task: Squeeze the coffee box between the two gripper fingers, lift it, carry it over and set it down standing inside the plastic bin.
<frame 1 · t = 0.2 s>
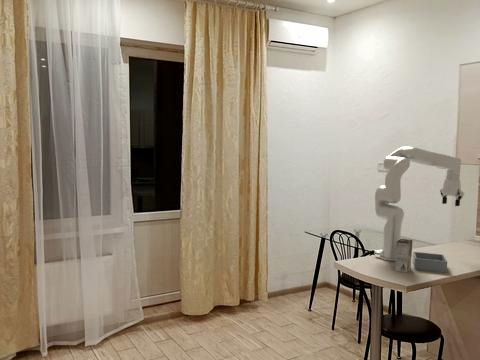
hand: (450, 204, 275), 31 cm above the bar counter, tool pointing down, fingers open, 9 cm apart
coffee box: (402, 270, 238), on the bar counter
bin: (428, 267, 245), on the bar counter
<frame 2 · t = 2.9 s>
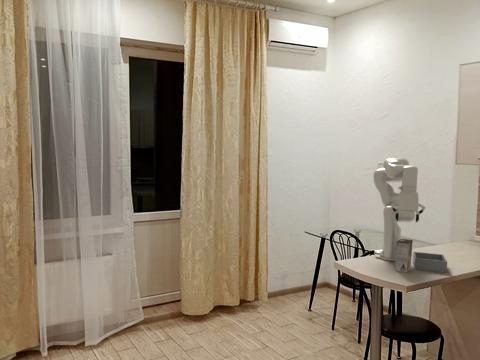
hand: (406, 221, 236), 26 cm above the bar counter, tool pointing down, fingers open, 9 cm apart
nothing on the bar counter moved.
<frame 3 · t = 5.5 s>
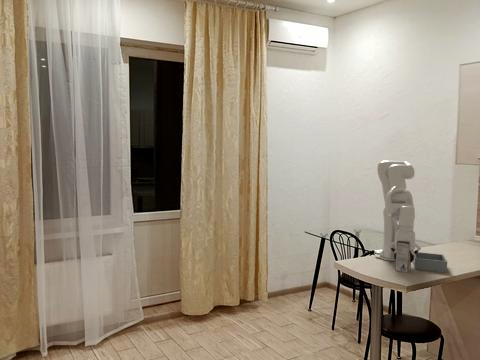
hand: (403, 260, 238), 5 cm above the bar counter, tool pointing down, fingers closed on coffee box, 7 cm apart
coffee box: (402, 270, 238), on the bar counter, touching gripper
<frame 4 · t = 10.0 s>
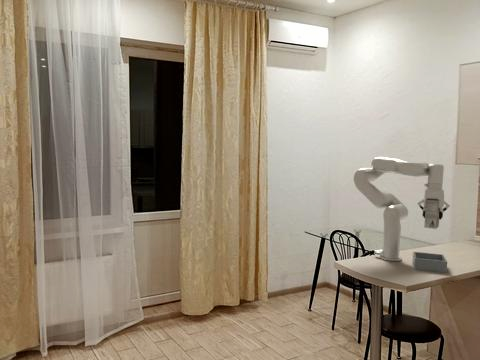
hand: (432, 218, 243), 27 cm above the bar counter, tool pointing down, fingers closed on coffee box, 7 cm apart
coffee box: (431, 227, 243), point 22 cm above the bar counter, touching gripper
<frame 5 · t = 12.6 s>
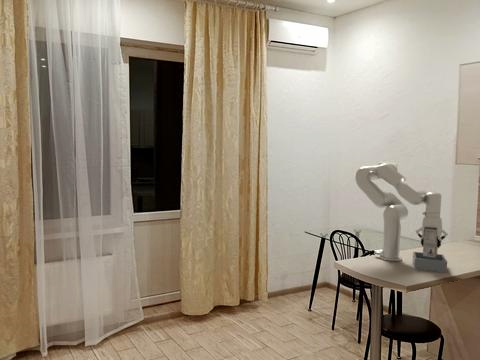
hand: (430, 246, 244), 12 cm above the bar counter, tool pointing down, fingers closed on coffee box, 7 cm apart
coffee box: (429, 255, 245), point 7 cm above the bar counter, touching gripper
when the fingers open (7 cm above the bar counter, at t = 14.6 s): coffee box drops 1 cm, resting on bin.
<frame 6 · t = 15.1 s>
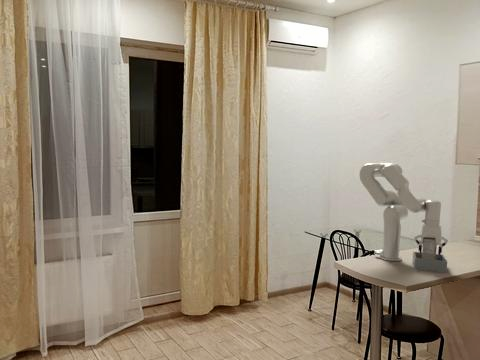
hand: (429, 253, 245), 8 cm above the bar counter, tool pointing down, fingers open, 9 cm apart
coffee box: (428, 265, 245), point 1 cm above the bar counter, touching bin
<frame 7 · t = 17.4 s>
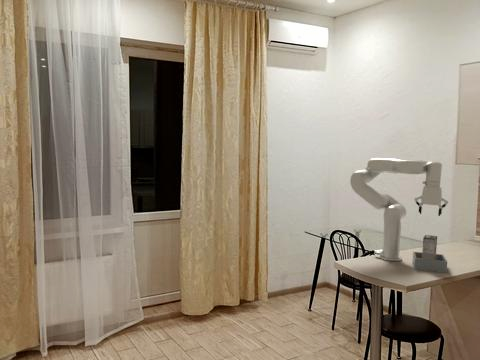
hand: (429, 214, 246), 29 cm above the bar counter, tool pointing down, fingers open, 9 cm apart
nothing on the bar counter moved.
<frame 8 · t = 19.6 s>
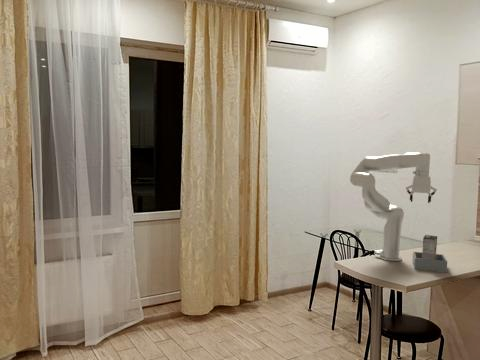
hand: (420, 202, 265), 33 cm above the bar counter, tool pointing down, fingers open, 9 cm apart
nothing on the bar counter moved.
at the end: coffee box inside the target area on the bin (0.3 cm from its centre), point 0.8 cm above the bin's base; coffee box tilted 0°; the gripper is holding nothing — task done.
